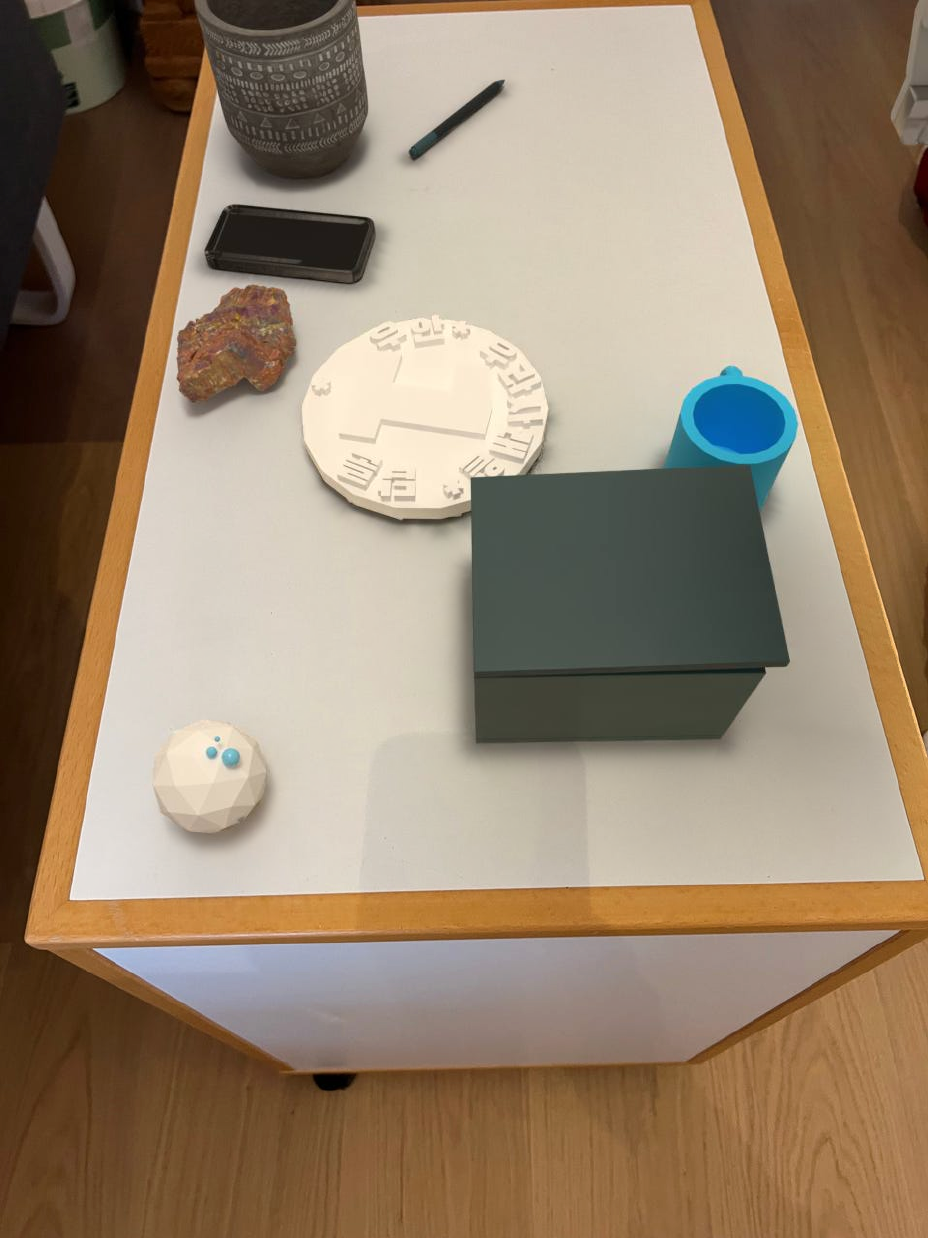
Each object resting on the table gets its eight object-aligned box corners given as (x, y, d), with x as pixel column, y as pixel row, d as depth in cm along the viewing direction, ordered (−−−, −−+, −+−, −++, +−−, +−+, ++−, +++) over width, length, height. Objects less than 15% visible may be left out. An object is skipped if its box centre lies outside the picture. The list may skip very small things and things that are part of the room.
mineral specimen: (285, 410, 71) (223, 356, 66) (220, 437, 75) (157, 388, 70) (311, 304, 76) (256, 247, 72) (249, 335, 80) (193, 282, 76)
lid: (747, 471, 55) (750, 464, 54) (786, 667, 49) (790, 661, 48) (471, 484, 56) (470, 476, 55) (474, 677, 49) (473, 672, 49)
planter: (212, 179, 88) (164, 20, 75) (270, 98, 94) (235, -62, 81) (342, 206, 85) (316, 46, 72) (393, 121, 92) (377, -40, 78)
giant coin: (394, 308, 79) (391, 282, 76) (588, 393, 73) (591, 368, 71) (258, 460, 71) (249, 436, 68) (463, 566, 66) (462, 545, 63)
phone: (225, 202, 84) (376, 217, 83) (229, 213, 85) (378, 227, 84) (200, 258, 80) (357, 274, 79) (204, 268, 81) (359, 284, 80)
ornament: (188, 863, 56) (145, 831, 49) (163, 764, 59) (119, 721, 52) (289, 822, 57) (262, 785, 50) (259, 727, 60) (229, 680, 53)
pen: (508, 87, 94) (508, 76, 93) (415, 160, 88) (415, 149, 87) (500, 83, 94) (500, 72, 93) (407, 156, 89) (406, 145, 88)
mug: (765, 536, 66) (799, 470, 59) (657, 524, 67) (678, 457, 60) (763, 416, 72) (794, 342, 65) (664, 406, 73) (684, 331, 65)
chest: (694, 567, 65) (729, 479, 56) (720, 739, 59) (766, 673, 49) (473, 571, 65) (470, 484, 56) (475, 743, 59) (473, 678, 49)
